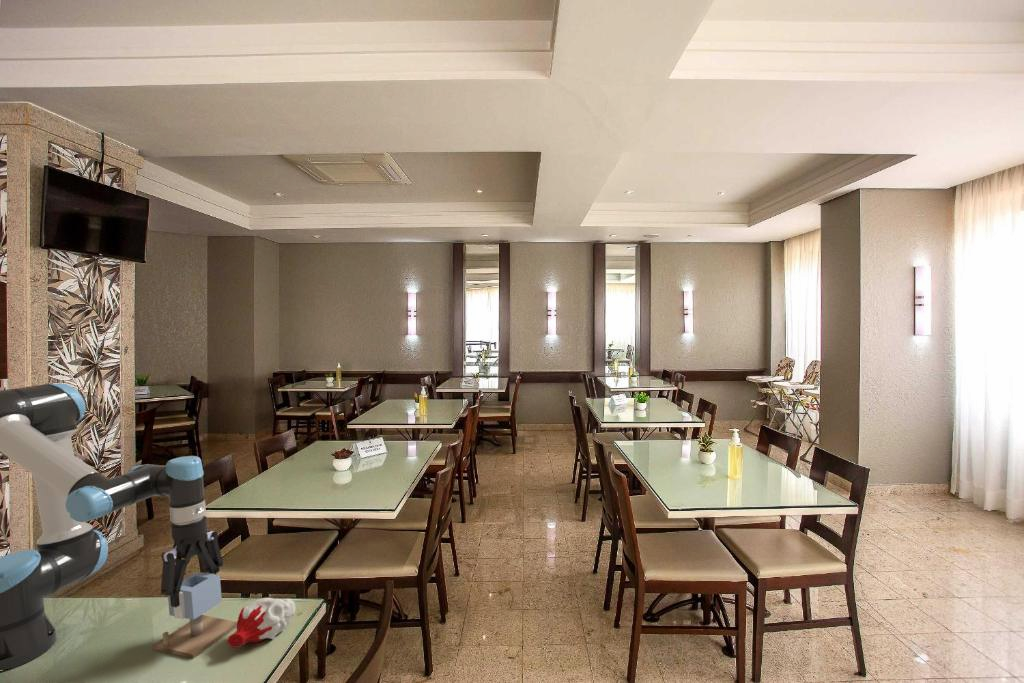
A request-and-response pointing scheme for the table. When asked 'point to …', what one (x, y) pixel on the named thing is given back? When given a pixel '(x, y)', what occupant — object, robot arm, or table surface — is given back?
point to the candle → (262, 620)
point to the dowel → (165, 639)
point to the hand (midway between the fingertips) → (196, 607)
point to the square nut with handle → (199, 594)
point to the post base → (196, 636)
